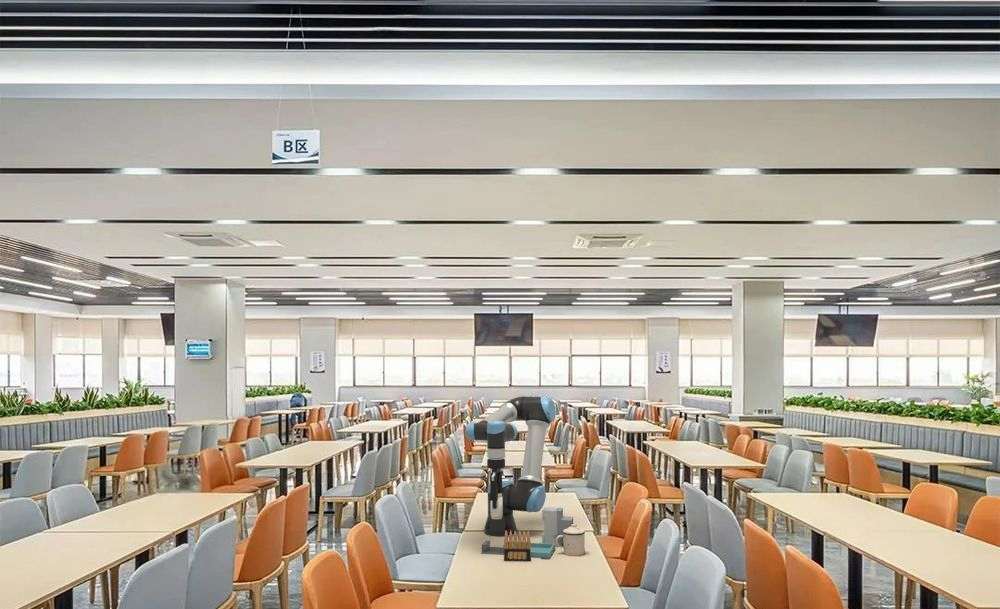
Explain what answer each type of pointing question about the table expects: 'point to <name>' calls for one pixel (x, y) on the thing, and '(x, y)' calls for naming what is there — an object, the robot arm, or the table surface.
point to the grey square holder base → (492, 549)
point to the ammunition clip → (522, 549)
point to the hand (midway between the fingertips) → (496, 514)
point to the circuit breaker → (554, 525)
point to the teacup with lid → (573, 541)
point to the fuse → (500, 507)
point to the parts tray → (541, 550)
